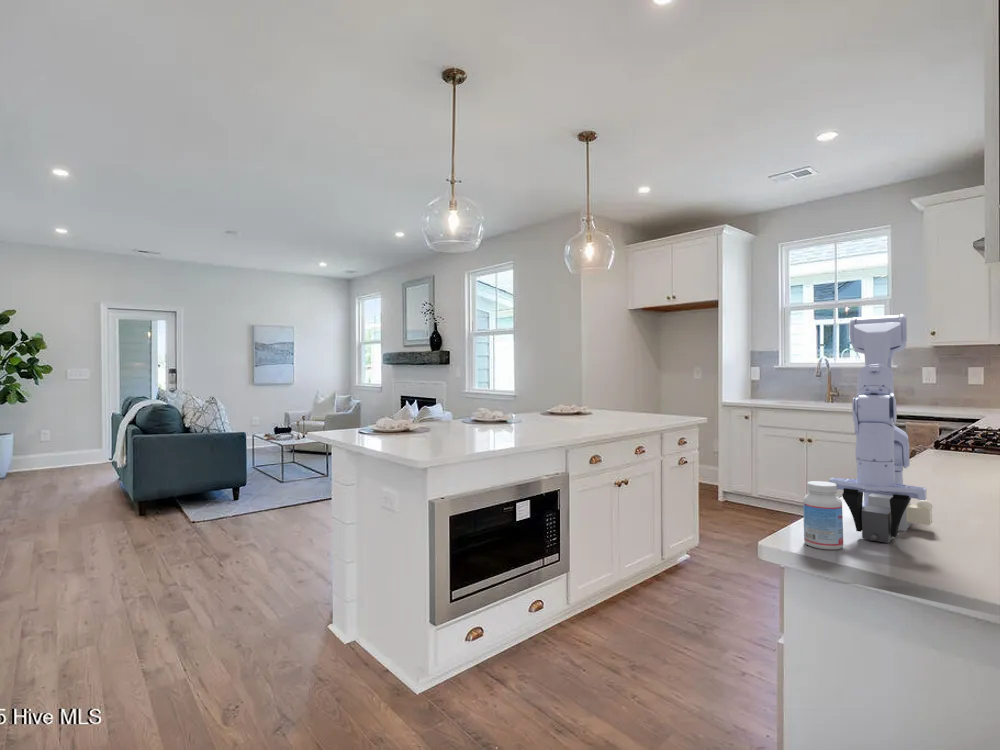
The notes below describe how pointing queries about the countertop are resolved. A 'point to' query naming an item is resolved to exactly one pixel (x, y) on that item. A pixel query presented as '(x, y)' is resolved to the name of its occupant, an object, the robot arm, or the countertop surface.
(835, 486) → the pill bottle
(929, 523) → the night light
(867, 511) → the block
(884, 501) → the socket cube
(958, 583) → the countertop surface
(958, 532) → the countertop surface
